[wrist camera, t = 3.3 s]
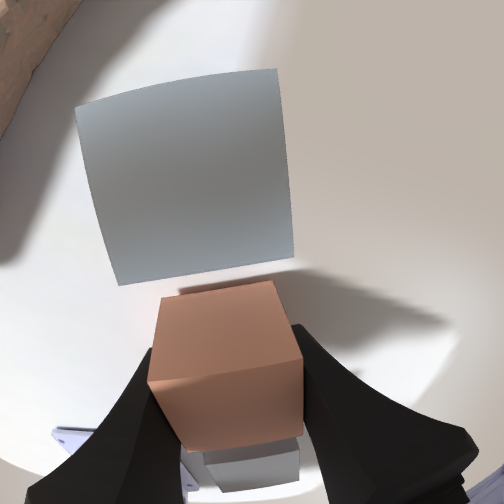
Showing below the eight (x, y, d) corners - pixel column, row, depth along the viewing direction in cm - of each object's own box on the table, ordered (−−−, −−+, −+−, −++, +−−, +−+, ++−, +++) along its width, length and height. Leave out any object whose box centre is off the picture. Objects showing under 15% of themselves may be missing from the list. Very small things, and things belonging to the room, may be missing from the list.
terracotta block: (279, 359, 13) (302, 435, 9) (187, 374, 12) (187, 452, 9) (272, 279, 11) (303, 358, 7) (161, 298, 11) (146, 381, 7)
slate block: (262, 206, 10) (294, 257, 7) (147, 225, 10) (119, 285, 6) (249, 87, 9) (276, 69, 5) (124, 109, 8) (74, 107, 5)
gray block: (283, 423, 16) (299, 480, 12) (216, 435, 16) (222, 492, 12) (280, 383, 14) (299, 449, 11) (201, 396, 14) (204, 465, 10)
